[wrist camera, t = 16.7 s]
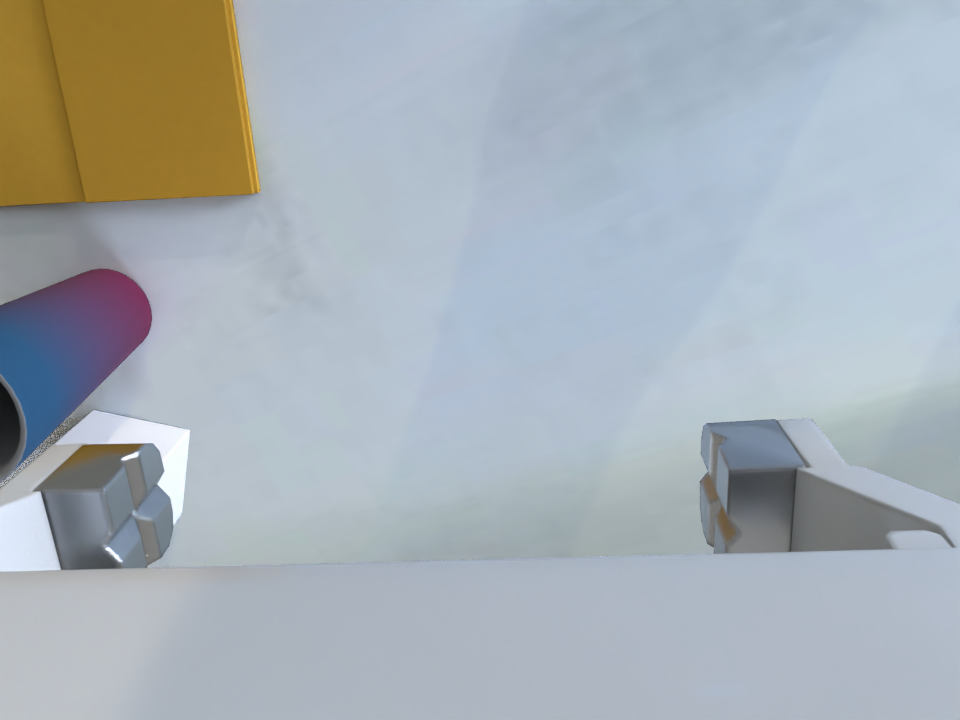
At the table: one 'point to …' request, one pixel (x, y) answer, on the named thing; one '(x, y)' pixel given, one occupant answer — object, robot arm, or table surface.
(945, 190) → the table surface
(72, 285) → the cup
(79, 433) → the milk
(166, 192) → the cloth
